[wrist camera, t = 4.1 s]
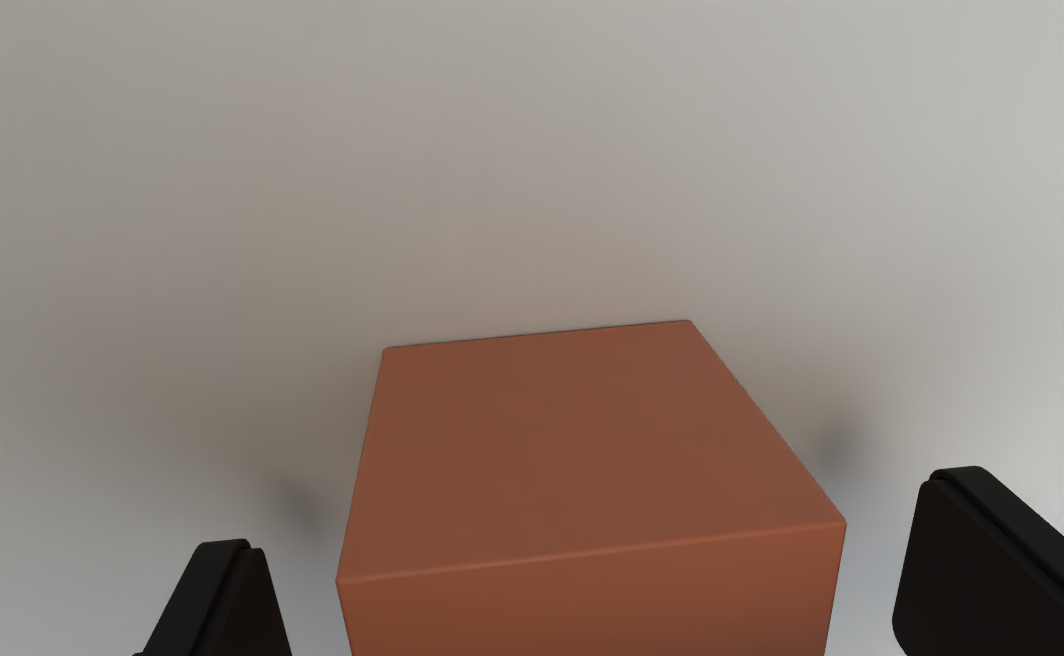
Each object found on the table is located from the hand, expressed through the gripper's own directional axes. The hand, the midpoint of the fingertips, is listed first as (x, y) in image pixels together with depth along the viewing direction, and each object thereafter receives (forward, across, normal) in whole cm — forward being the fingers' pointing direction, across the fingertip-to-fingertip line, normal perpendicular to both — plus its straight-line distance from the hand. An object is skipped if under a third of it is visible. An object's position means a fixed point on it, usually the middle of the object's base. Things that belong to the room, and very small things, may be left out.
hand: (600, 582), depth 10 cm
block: (+3, 0, 0) cm, 3 cm away
